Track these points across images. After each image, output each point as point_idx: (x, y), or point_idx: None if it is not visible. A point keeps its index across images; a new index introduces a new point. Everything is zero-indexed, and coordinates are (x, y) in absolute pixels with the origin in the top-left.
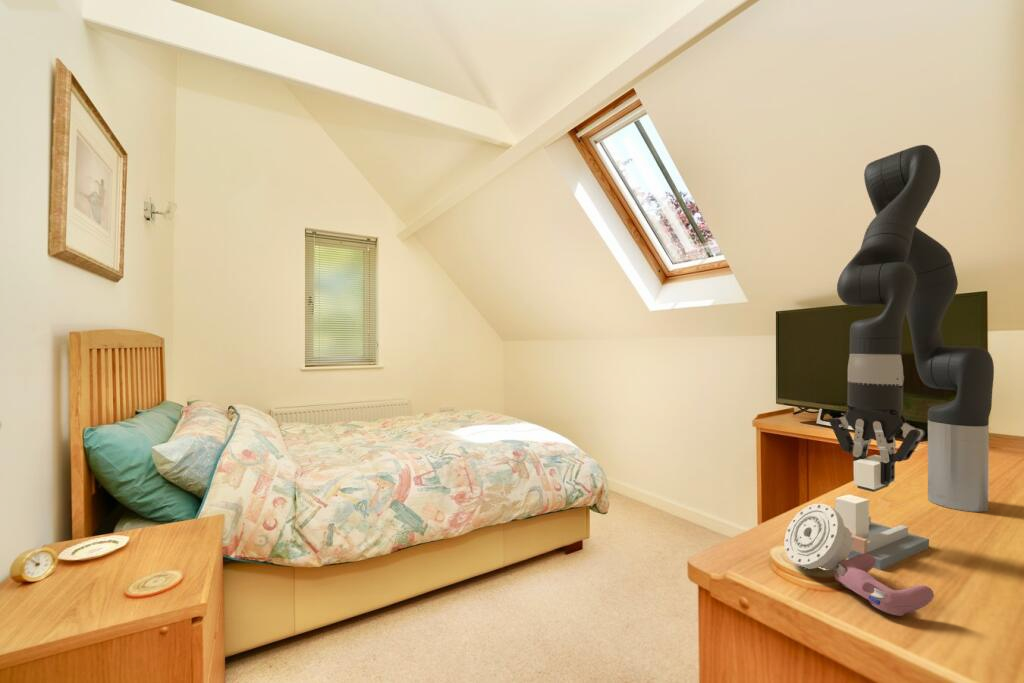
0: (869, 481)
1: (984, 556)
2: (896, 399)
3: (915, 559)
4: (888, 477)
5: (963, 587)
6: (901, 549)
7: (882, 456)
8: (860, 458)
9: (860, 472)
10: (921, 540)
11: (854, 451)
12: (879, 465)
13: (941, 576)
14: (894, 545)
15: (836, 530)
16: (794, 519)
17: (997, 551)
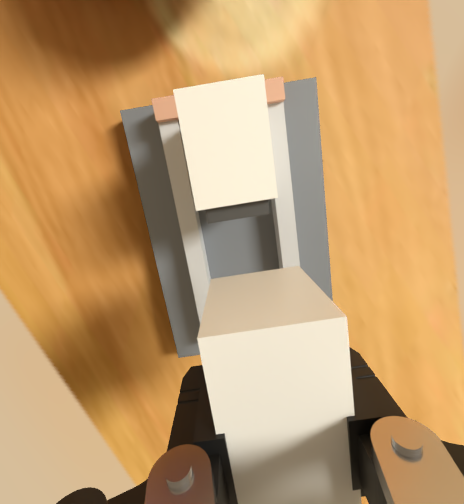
0: (230, 288)
1: (124, 401)
2: None
3: (150, 259)
4: (189, 382)
5: (29, 212)
6: (154, 235)
7: (197, 492)
8: (356, 418)
9: (280, 295)
10: (177, 333)
11: (435, 458)
12: (214, 406)
13: (76, 223)
14: (175, 243)
15: None
16: None
17: (133, 444)
